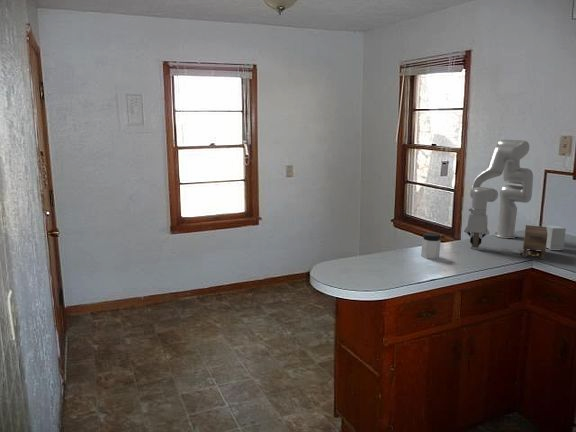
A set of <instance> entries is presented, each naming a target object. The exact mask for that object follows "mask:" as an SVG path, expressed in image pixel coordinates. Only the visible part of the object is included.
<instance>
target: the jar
mask: <svg viewBox="0 0 576 432" xmlns="http://www.w3.org/2000/svg"><path fill="white" fill-rule="evenodd" d="M422 236H423V238H422V241H421V250H420V251H421V253H420V256H421V257H422V258H425V259H426V258H429V260H436V259H439V258H440V253H441V234H440V233H437V232H430V231H429V232H424V233H423V235H422Z"/></svg>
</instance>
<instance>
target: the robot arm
mask: <svg viewBox="0 0 576 432" xmlns="http://www.w3.org/2000/svg"><path fill="white" fill-rule="evenodd" d="M529 151H530V143H529V142H528V141H527V140H519V139H500V140H498V141H497V142H496V146H495V147H494V148H493V150H492V153H491V156H490V159H489V161H488V164H487V167H486V169H485V170H484V171H482V172H481V173H480V174H478V175H477V177H475V179H474V180H473V182H472V184H471V188H470V192H469V195H470V198H471V199H472V201H471V208H468V212H470V213H469V214H468V218H467V225H466V228H465V229H464V230H463V232H464V233H466V234H467V235H468V236H469V238H470V239H469V240H470V241H469V243H470V244H471V245H470V246H472V242H473V233H480V236H479V242H478V246H481V244H482V239H484V237H486V236H489V235H490V231H489V229H488V214H487V207H488V206H487V205H488V203H492V202H493V203H494V202H495V201H496V200H497V199H498V197H499V199H500V200H499V201H500V202H499V204H500V205H499V214H498V222H497V223H498V225H497V232H495V233H494V234H493V235H494V236H495V237H496V238H497V237H498V238H501V239H507V238H513V239H516V238H515V237H517V238H518V236H517V234H515V230H516V223H517V222H516V221H517V214H518V212H517V211H518V207H517V204H516V203H515V202H517V203H523V204H524V203H525V204H527V203H529V202H530V201H532V196H533V186H534V184H533V182H534V174H533V171H532V170H531V169H530V168H525V167H521V166H520V165H521V164H520V163H521V160H522V159H523V158H525V156H526V155H528V153H529ZM501 175H502V176H503V181H504V182H505V183H508V184H505V185H502V186H501V187H500V189H499V193H498V190H497V189H496V188H492V187H485V186H482V184H483V183H485V182H486V181H488V180H490V179H494V178H496V177H500V176H501ZM514 184H515V185H514Z"/></svg>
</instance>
